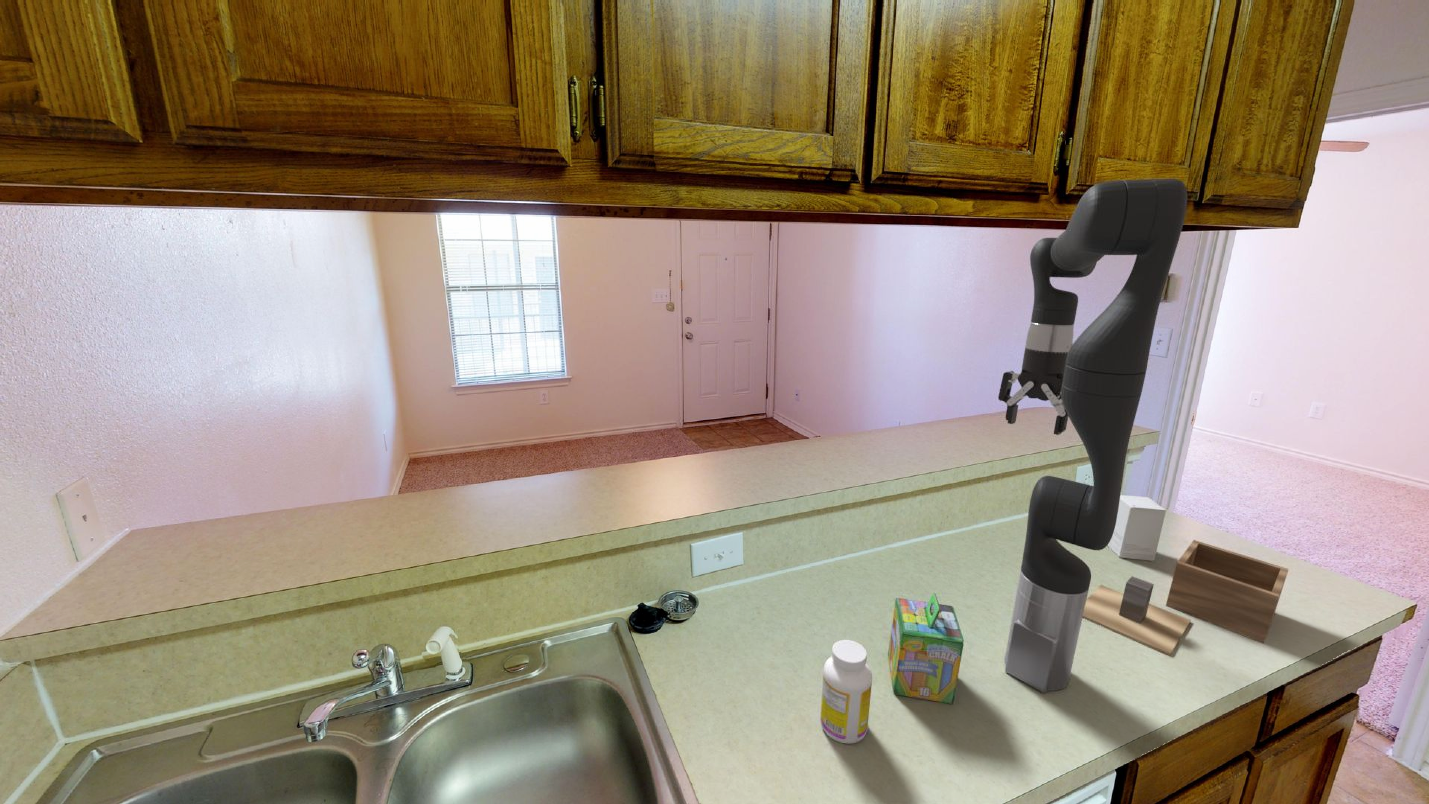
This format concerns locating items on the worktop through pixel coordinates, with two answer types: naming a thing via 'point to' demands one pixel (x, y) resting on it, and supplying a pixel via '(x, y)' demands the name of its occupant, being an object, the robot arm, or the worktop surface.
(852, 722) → the supplement bottle
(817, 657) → the worktop surface
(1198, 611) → the box
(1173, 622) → the lid
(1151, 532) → the supplement box
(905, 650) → the chalk box
